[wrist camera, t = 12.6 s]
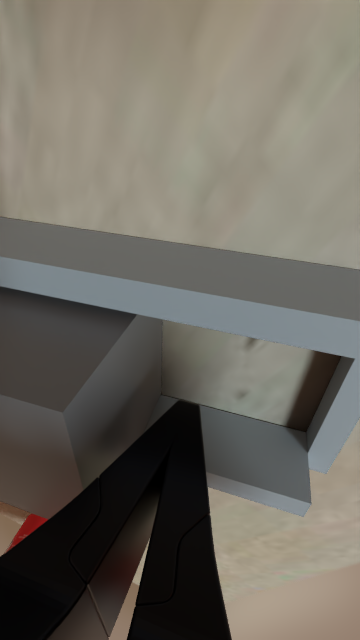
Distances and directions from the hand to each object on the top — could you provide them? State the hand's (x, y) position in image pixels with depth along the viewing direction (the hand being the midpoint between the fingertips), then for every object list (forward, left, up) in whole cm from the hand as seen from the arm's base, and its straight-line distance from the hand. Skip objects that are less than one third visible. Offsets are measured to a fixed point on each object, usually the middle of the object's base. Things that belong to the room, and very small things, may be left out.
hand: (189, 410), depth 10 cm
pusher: (+4, 0, -3) cm, 5 cm away
